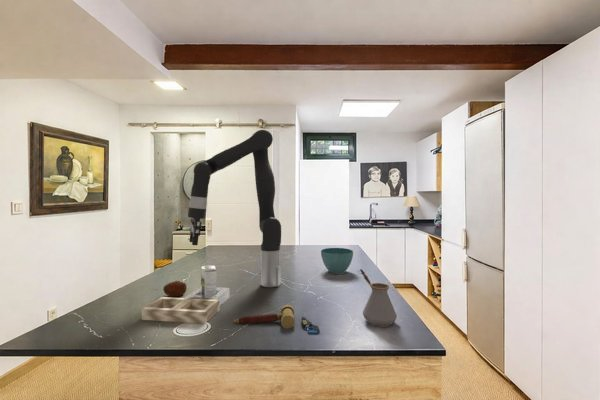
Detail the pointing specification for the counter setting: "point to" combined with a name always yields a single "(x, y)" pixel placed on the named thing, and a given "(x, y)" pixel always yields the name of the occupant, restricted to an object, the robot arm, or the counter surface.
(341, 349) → the counter surface
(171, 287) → the potato
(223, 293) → the socket block
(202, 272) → the syrup box
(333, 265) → the teal bowl
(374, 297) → the coffee pot
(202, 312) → the rack
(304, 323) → the micrometer
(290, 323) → the gavel
